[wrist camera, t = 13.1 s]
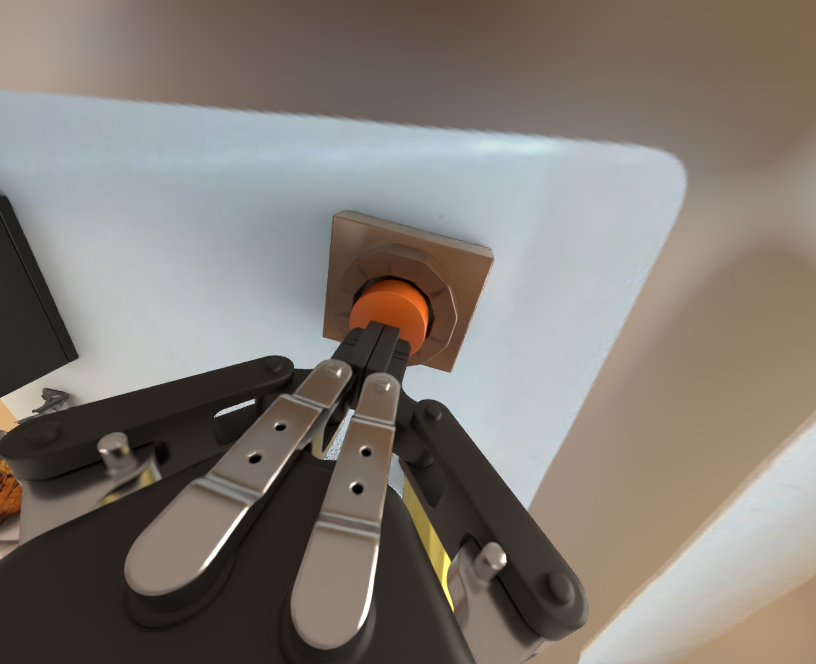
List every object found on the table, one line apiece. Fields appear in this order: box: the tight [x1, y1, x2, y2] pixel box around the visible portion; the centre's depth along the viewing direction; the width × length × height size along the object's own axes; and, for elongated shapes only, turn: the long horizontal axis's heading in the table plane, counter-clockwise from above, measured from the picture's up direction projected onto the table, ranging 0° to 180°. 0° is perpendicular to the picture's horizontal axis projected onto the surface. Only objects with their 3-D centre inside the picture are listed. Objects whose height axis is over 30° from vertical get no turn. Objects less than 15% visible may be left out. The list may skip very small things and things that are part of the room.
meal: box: [0, 388, 69, 559], centre depth 30 cm, size 15×4×13 cm, turn 172°
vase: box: [402, 473, 454, 612], centre depth 22 cm, size 6×6×14 cm
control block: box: [323, 210, 494, 372], centre depth 18 cm, size 8×9×4 cm
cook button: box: [349, 279, 429, 356], centre depth 16 cm, size 4×4×2 cm
